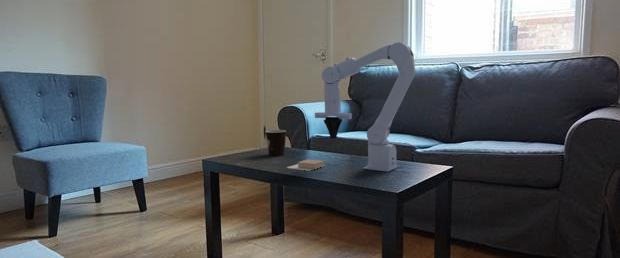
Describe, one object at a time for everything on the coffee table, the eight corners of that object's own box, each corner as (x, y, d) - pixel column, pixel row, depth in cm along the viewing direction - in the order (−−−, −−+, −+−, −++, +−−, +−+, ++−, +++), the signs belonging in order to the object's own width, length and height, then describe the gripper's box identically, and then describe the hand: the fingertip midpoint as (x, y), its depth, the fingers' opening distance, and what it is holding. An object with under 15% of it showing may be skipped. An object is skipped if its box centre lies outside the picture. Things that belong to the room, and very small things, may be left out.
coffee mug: (267, 153, 195) (266, 130, 194) (287, 152, 195) (286, 129, 194) (264, 158, 183) (263, 133, 182) (285, 157, 183) (285, 133, 182)
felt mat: (325, 166, 166) (325, 165, 166) (309, 171, 158) (309, 170, 157) (302, 163, 171) (302, 162, 171) (286, 168, 163) (286, 167, 163)
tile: (323, 161, 163) (307, 159, 167) (314, 164, 158) (298, 162, 162) (323, 166, 164) (307, 164, 168) (314, 169, 159) (298, 167, 163)
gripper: (309, 101, 163) (310, 138, 165) (344, 101, 155) (345, 141, 157) (320, 100, 169) (321, 136, 171) (354, 100, 161) (355, 138, 163)
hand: (333, 138), depth 164 cm, fingers closed
